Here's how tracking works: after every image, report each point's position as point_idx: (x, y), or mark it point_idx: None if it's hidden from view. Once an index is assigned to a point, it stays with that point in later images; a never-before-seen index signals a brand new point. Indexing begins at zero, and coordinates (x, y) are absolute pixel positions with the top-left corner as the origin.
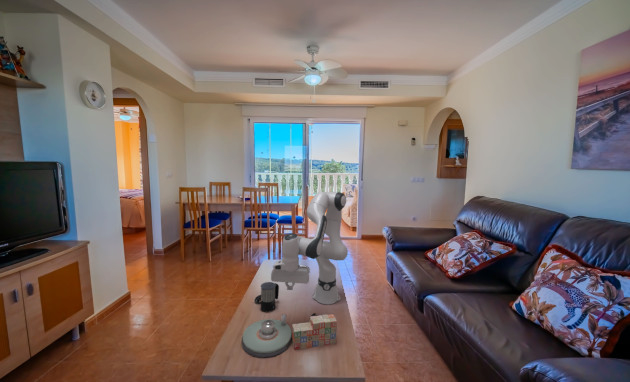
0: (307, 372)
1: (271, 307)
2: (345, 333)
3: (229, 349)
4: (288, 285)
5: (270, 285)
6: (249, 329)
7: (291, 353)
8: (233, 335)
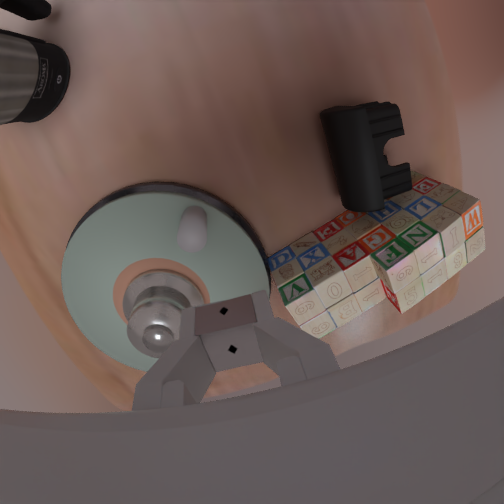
0: (349, 344)
1: (51, 95)
2: (449, 144)
3: (91, 357)
4: (200, 352)
5: None
6: (80, 307)
7: (287, 311)
8: (48, 308)
